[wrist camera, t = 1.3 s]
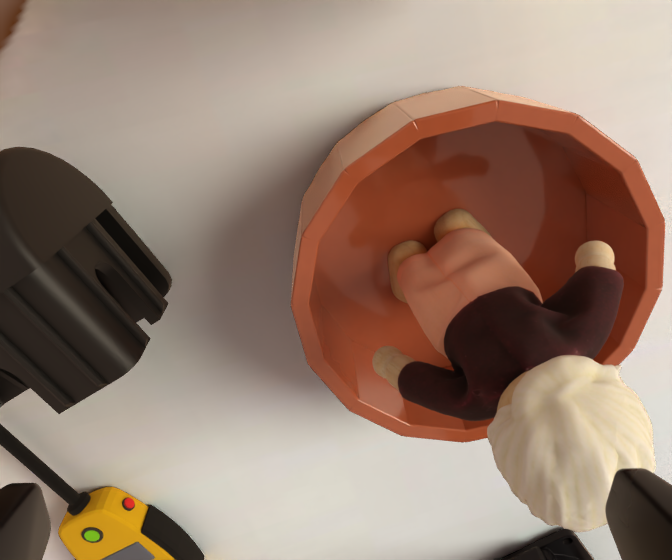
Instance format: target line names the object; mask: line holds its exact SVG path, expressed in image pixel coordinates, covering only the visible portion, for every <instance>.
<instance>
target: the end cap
mask: <svg viewBox="0 0 672 560" xmlns="http://www.w3.org/2000/svg"><path fill="white" fill-rule="evenodd" d="M112 203H113V202H112V201H111V200H110V199H109V198H108V197H107V195H106V194H105V193H104V192H103V191H102V190H101V189H100V188H99V187H98V186H97V185H96V184H95V183H93V182H92V181H91V180H90V179H89V178H88V177H87V176H85V175H84V174H83V173H81V172H80V171H79V170H78V169H76V168H75V167H73V166H72V165H70V164H69V163H67V162H65V161H64V160H62V159H60V158H58V157H56V156H54V155H52V154H50V153H47V152H44V151H40V150H37V149H34V148H26V147H14V148H9V149H4V150H2V151H1V152H0V407H1V406H2V405H4V404H5V403H6V402H8V401H9V400H11V399H13V398H14V397H16V396H18V395H19V394H21V393H22V392H24V391H26V390H27V389H29V388H31V389H32V390H33V391H34V392H36V393H37V394H38V395H39V396H40V397H41V398H42V399H43V400H44V401H45V402H46V403H48V404H49V405H50V406H51V407H52V408H53V409H54V410H55V411H56V412H57V413H58V414H60V413H62V412H63V411H65V410H67V409H68V408H70V407H72V406H73V405H75V404H77V403H78V402H80V401H82V400H83V399H85V398H87V397H88V396H90V395H92V394H93V393H95V392H97V391H98V390H100V389H102V388H104V387H105V386H107V385H109V384H110V383H112V382H114V381H115V380H117V379H119V378H120V377H122V376H123V375H124V374H126V373H127V372H128V371H129V370H130V369H131V368H132V367H134V366H135V364H136V363H137V362H138V361H139V359H140V358H141V356H142V354H143V352H144V350H145V348H146V346H147V344H148V342H149V340H150V337H149V336H148V335H147V334H146V333H145V332H144V331H143V330H142V329H141V328H140V327H139V325H138V324H137V323H136V322H138V321H139V320H141V319H143V318H145V319H146V320H147V321H148V322H149V323H150V324H151V325H152V324H154V323H155V322H157V321H159V320H160V319H161V317H162V315H163V313H164V311H165V309H166V307H167V305H168V302H167V301H166V300H165V299H164V296H165V295H166V294H167V293H168V291H169V289H170V288H171V284H172V279H171V277H170V275H169V273H168V271H167V270H166V269H165V268H164V266H163V265H162V264H161V263H160V262H159V261H158V259H157V258H156V257H155V256H154V255H153V253H152V252H151V251H150V250H149V249H148V247H147V246H146V245H145V244H144V243H143V242H142V240H141V239H140V238H139V237H138V236H137V234H136V233H135V232H134V231H133V230H132V228H131V227H130V226H129V225H128V224H127V223H126V221H125V220H124V219H123V218H122V217H121V215H120V214H119V213H118V212H117V211H116V209H115V208H114V207H113V206H112V205H111V204H112Z"/></svg>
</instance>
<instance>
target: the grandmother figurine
mask: <svg viewBox="0 0 672 560" xmlns="http://www.w3.org/2000/svg"><path fill="white" fill-rule="evenodd" d="M434 234H435V238H436V240H437V243H436V244H435V245H434V246H433V247H432V248H430V250H429V251H428V252H427V250H426V248H425V247H424V245H423V244H421V243H420V242H417V241H412V240H410V241H406V242H403V243H400V244H398V245H396V246H394V247H393V248H392V249H391V251H390V253H389V255H388V267H389V275H390V283H391V288H392V291H393V294H394V295H395V296H396V297H397V298H398V299H399V300H401V301H402V302H405V303H408V305H409V306H410V308H411V310H412V312H413V314H414V316H415V317H416V319H417V321H418V322H419V324H420V326H421V328H422V329H423V331H424V333H425V334H426V336H427V337H428V339H429V340H430V342H431V343H432V345H433V346H434V348H435V349H436V350H437V351H438V352H439V353H441V354H443V355H444V356H445V357H446V358H448V359H449V361H450V362H451V365H452V367H453V369H454V371H452V370H449V369H445V368H441V367H438V366H435V365H431V364H429V363H424V362H421V361H415V360H414V359H412V358H411V357H409V356H407V355H403V353H402V352H401V351H400V350H399V349H397V348H395V347H393V346H384V347H381V348H379V349H378V350H377V351H376V352H375V354H374V356H373V360H372V363H373V368H374V370H375V372H376V373H377V374H378V375H379V376H381V377H383V378H386V379H387V380H388V382H389V383H390V384H391V385H392V386H393V387H395V388H396V389H397V390H398V391H399V392H400V394H401V396H402V397H403V398H404V399H406V400H408V401H410V402H412V403H415V404H418V405H420V406H423V407H425V408H427V409H430V410H432V411H436V412H438V413H441V414H444V415H448V416H452V417H456V418H459V419H463V420H467V421H483V420H488V419H492V418H494V420H493V421H492V423H491V424H490V425H489V426H488V428H487V435H488V440H489V442H490V444H491V446H492V451H493V455H494V459H495V462H496V465H497V468H498V470H499V471H500V472H501V474H502V476H503V478H504V479H505V480H506V481H507V482H508V484H509V486H510V488H511V490H512V492H513V493H514V494H515V495H516V496H517V497H518V498H519V500H520V501H521V502H522V503H524V504H527V505H528V507H529V510H530V512H531V513H532V514H533V515H534V516H536V517H538V518H540V519H542V520H543V521H544V522H545V523H547V524H548V525H551V526H554V525H559V526H561V527H563V528H565V529H569V530H572V531H574V532H586V531H590V530H592V529H595V528H597V527H600V526H603V525H605V524H608V522H607V519H606V513H605V506H606V502H607V499H608V495H609V492H610V489H611V486H612V482H613V479H614V476H615V473H616V472H617V471H618V470H619V469H622V468H644V469H647V470H649V471H651V472H652V473H654V471H655V468H656V463H655V459H654V448H653V430H652V424H651V421H650V419H649V416H648V414H647V412H646V410H645V408H644V406H643V404H642V403H641V401H640V399H639V397H638V396H637V394H636V393H635V392H634V391H633V390H632V389H631V388H629V387H628V386H626V385H625V384H624V382H623V380H622V379H621V377H620V376H619V371H620V369H621V368H622V367H621V365H616V366H614V365H601V364H599V363H597V362H595V361H594V360H593V359H594V358H595V357H596V356H597V354H598V353H599V352H600V350H601V349H602V347H603V346H604V344H605V342H606V341H607V339H608V337H609V335H610V332H611V330H612V328H613V325H614V322H615V319H616V316H617V312H618V308H619V304H620V300H621V295H622V291H623V287H624V281H623V277H622V275H621V274H620V273H619V272H617V271H616V268H615V265H614V253H613V250H612V248H611V247H610V246H609V245H608V244H606V243H604V242H602V241H589V242H586V243H584V244H583V245H581V246H580V247H579V248H578V250H577V252H576V254H575V264H576V270H575V273H574V275H573V276H572V277H570V278H569V280H568V281H567V283H566V284H565V285H564V286H563V287H562V288H560V289H559V290H558V291H557V292H556V293H555V294H554V295H552V296H551V297H549V298H548V299H546V300H545V301H544V302H543V301H542V297H541V294H540V291H539V289H538V288H537V286H536V285H535V283H534V282H533V281H532V279H531V278H530V276H529V275H528V274H527V273H526V271H525V270H524V269H523V268H522V267H521V266H520V264H519V263H518V262H517V261H516V259H515V258H514V257H513V256H512V254H511V253H509V252H508V251H507V250H506V249H504V248H503V247H502V246H501V245H500V244H498V243H497V242H496V241H495V240H494V239H493V238H492V237H491V235H490V234H489V232H488V231H487V230H486V229H485V228H484V227H483V226H482V225H481V224H480V223H479V222H478V221H477V220H476V219H475V218H474V217H473V216H472V215H471V214H470V213H469V212H468V211H466V210H464V209H453V210H450V211H449V212H447V213H445V214H444V215H443V216H442V217H440V218H439V219H438V220H437V222H436V224H435V227H434Z"/></svg>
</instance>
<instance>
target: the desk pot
mask: <svg viewBox="0 0 672 560" xmlns="http://www.w3.org/2000/svg"><path fill="white" fill-rule="evenodd" d="M453 209H464V210H466V211H468V212H469V213H470V214H471V215H472V216H473V217H474V218H475V219H476V220H477V221H478V222H479V223H480V224H481V225H482V226H483V227H484V228H485V229H486V230H487V231H488V232H489V234H490V235H491V237H492V238H493V239H494V240H495V241H496V242H497V243H498V244H500V245H501V246H502V247H503V248H504V249H506V250H507V251H508V252H509V253H511V254H512V256H513V257H514V258H515V259H516V261H517V262H518V263H519V264H520V266H521V267H522V268H523V269H524V270H525V271H526V273H527V274H528V275H529V276H530V278H531V279H532V281H533V282H534V283H535V285H536V286H537V288H538V289H539V291H540V294H541V297H542V301H543V302H544V301H545V300H546V299H548V298H549V297H551V296H552V295H554V294H555V293H556V292H557V291H558V290H559V289H560V288H562V287H563V286H564V285H565V284H566V283H567V281H568V280H569V278H570V277H572V276H573V275H574V273H575V270H576V264H575V254H576V252H577V250H578V248H579V247H580V246H581V245H583V244H584V243H586V242H589V241H602V242H604V243H606V244H608V245H609V246H610V247H611V248H612V250H613V253H614V265H615V268H616V271H617V272H619V273H620V274H621V275H622V277H623V281H624V287H623V291H622V295H621V300H620V304H619V308H618V312H617V316H616V319H615V322H614V325H613V328H612V330H611V332H610V335H609V337H608V339H607V341H606V342H605V344H604V346H603V347H602V349H601V350H600V352H599V353H598V354H597V356H596V357H595V358H594V359H593V360H594V361H595V362H597V363H599V364H601V365H614V366H616V365H619V364H620V363H621V362H622V361H623V360H624V359H625V358H626V357H627V356H628V355H629V354H630V353H631V352H632V351H633V349H634V348H635V346H636V344H637V342H638V340H639V337H640V335H641V333H642V331H643V329H644V327H645V325H646V323H647V320H648V318H649V316H650V314H651V312H652V310H653V308H654V306H655V303H656V301H657V299H658V297H659V295H660V293H661V291H662V287H663V263H664V240H665V222H664V221H665V219H664V217H663V215H662V213H661V211H660V208H659V206H658V204H657V202H656V200H655V197H654V195H653V193H652V191H651V188H650V186H649V184H648V182H647V180H646V177H645V175H644V173H643V171H642V169H641V166H640V164H639V162H638V160H637V159H636V158H635V157H634V156H633V155H632V154H630V153H629V152H628V151H626V150H625V149H624V148H622V147H621V146H620V145H619V144H617V143H616V142H615V141H613V140H612V139H611V138H609V137H608V136H607V135H605V134H604V133H603V132H601V131H600V130H599V129H597V128H596V127H595V126H593V125H592V124H591V123H589V122H588V121H587V120H585V119H584V118H583V117H581V116H580V115H578V114H576V113H573V112H570V111H566V110H563V109H560V108H557V107H554V106H550V105H547V104H544V103H541V102H538V101H534V100H531V99H528V98H525V97H520V96H514V95H509V94H504V93H498V92H494V91H489V90H482V89H476V88H471V87H465V86H461V87H460V86H457V87H453V88H448V89H444V90H438V91H432V92H426V93H422V94H419V95H416V96H413V97H409V98H406V99H403V100H399V101H395V102H393V103H390V104H389V105H388V106H386V107H385V108H384V109H382V110H380V111H379V112H377V113H375V114H374V115H372V116H371V117H369V118H367V119H366V120H364V121H363V122H362V123H360V124H359V125H358V126H357V127H356V128H354V129H353V130H352V131H351V132H350V133H348V134H347V135H346V136H345V137H344V138H342V139H341V140H339V141H338V142H337V144H335V146H334V147H333V149H332V151H331V152H330V154H329V155H328V157H327V158H326V159H325V161H324V162H323V164H322V165H321V166H320V168H319V169H318V171H317V173H316V175H315V177H314V179H313V181H312V183H311V184H310V186H309V188H308V189H307V191H306V193H305V194H304V196H303V199H302V202H301V209H300V215H299V222H298V228H297V235H296V242H295V249H294V256H293V272H292V289H291V309H292V312H293V316H294V319H295V322H296V326H297V329H298V332H299V336H300V339H301V342H302V346H303V349H304V353H305V356H306V359H307V363H308V365H309V366H310V367H311V368H312V370H313V371H314V372H315V373H316V374H317V375H318V376H319V377H320V379H321V380H322V381H323V382H324V383H325V384H326V385H327V386H328V388H329V389H330V390H331V391H332V392H333V393H334V394H335V395H336V397H337V398H338V399H339V400H340V401H341V402H342V403H343V404H344V406H345V407H346V408H347V409H349V411H351V412H353V413H355V414H357V415H359V416H361V417H363V418H365V419H368V420H370V421H372V422H374V423H376V424H378V425H380V426H382V427H384V428H386V429H388V430H390V431H392V432H395V433H397V434H399V435H401V436H406V437H415V438H425V439H435V440H444V441H454V442H470V441H475V440H479V439H484V438H488V435H487V428H488V426H489V425H490V424H491V423H492V421H493V420H494V418H492V419H488V420H483V421H467V420H463V419H459V418H456V417H452V416H448V415H444V414H441V413H438V412H436V411H432V410H430V409H427V408H425V407H423V406H420V405H418V404H415V403H412V402H410V401H408V400H406V399H404V398H403V397H402V396H401V394H400V392H399V391H398V390H397V389H396V388H395V387H393V386H392V385H391V384H390V383H389V382H388V380H387V379H386V378H383V377H381V376H379V375H378V374H377V373H376V372H375V370H374V368H373V363H372V360H373V356H374V354H375V352H376V351H377V350H378V349H379V348H381V347H384V346H393V347H395V348H397V349H399V350H400V351H401V352H402V353H403V355H407V356H409V357H411V358H412V359H414V360H415V361H421V362H424V363H429V364H431V365H435V366H438V367H441V368H445V369H449V370H452V371H454V369H453V367H452V365H451V362H450V361H449V359H448V358H446V357H445V356H444V355H443V354H441V353H439V352H438V351H437V350H436V349H435V348H434V346H433V345H432V343H431V342H430V340H429V339H428V337H427V336H426V334H425V333H424V331H423V329H422V328H421V326H420V324H419V322H418V321H417V319H416V317H415V316H414V314H413V312H412V310H411V308H410V306H409V305H408V303H405V302H402V301H401V300H399V299H398V298H397V297H396V296H395V295H394V294H393V291H392V288H391V283H390V275H389V267H388V255H389V253H390V251H391V249H392V248H393V247H394V246H396V245H398V244H400V243H403V242H406V241H410V240H412V241H417V242H420V243H421V244H423V245H424V247H425V248H426V250H427V252H428V251H429V250H430V248H432V247H433V246H434V245H435V244H436V243H437V240H436V238H435V234H434V227H435V224H436V222H437V220H438V219H439V218H440V217H442V216H443V215H444V214H445V213H447V212H449V211H450V210H453Z"/></svg>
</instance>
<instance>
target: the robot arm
mask: <svg viewBox="0 0 672 560" xmlns="http://www.w3.org/2000/svg"><path fill="white" fill-rule="evenodd" d="M605 513H606V519H607V522H608V525H609V528H610V530H611V533H612V535H613V538H614V540H615V543H616V546H617V548H618V551H619V553H620V556H621V558H622V560H672V485H671V484H669V483H668V482H666V481H665V480H663V479H662V478H660V477H658V476H657V475H655V474H654V473H652V472H651V471H649V470H647V469H644V468H622V469H619V470H618V471H617V472H616V473H615V476H614V479H613V482H612V486H611V489H610V492H609V495H608V499H607V502H606V506H605ZM50 531H51V522H50V517H49V514H48V510H47V507H46V503H45V500H44V497H43V493H42V490H41V488H40V486H39V485H38V484H36V483H12V484H8V485H6V486H5V487H3V488H2V489H0V560H42V558H43V555H44V552H45V549H46V546H47V543H48V540H49V536H50ZM500 560H594V559H593V557H592V556H591V554H590V553H589V552H588V550H587V549H586V548H585V546H584V545H583V544H582V542H581V541H580V540H579V538H578V537H577V536H576V534H575V533H574V532H573V531H572V530H569V529H562V530H559V531H557V532H555V533H553V534H551V535H549V536H547V537H545V538H543V539H541V540H539V541H537V542H535V543H533V544H531V545H529V546H527V547H525V548H523V549H521V550H519V551H517V552H514V553H512V554H510V555H508V556H506V557H504V558H502V559H500Z"/></svg>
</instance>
